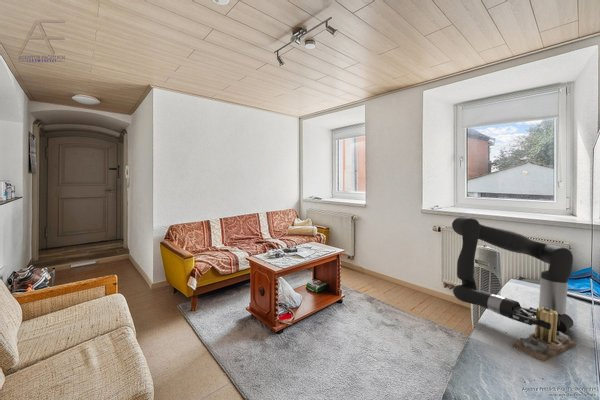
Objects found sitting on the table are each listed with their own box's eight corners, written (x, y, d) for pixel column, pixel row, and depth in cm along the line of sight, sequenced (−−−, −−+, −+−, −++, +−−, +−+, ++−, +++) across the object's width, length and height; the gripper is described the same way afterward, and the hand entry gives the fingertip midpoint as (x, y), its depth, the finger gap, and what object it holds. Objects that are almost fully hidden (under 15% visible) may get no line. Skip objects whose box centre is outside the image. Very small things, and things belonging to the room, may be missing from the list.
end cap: (566, 338, 105) (567, 322, 105) (542, 330, 111) (543, 314, 111) (573, 332, 111) (574, 316, 110) (550, 324, 117) (551, 309, 116)
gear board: (545, 332, 109) (546, 323, 109) (575, 344, 101) (576, 334, 101) (513, 346, 98) (513, 337, 98) (543, 361, 90) (544, 350, 90)
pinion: (539, 333, 104) (541, 303, 103) (558, 341, 99) (561, 310, 98) (531, 336, 101) (533, 306, 101) (551, 344, 96) (553, 313, 95)
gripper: (494, 300, 109) (546, 318, 94) (513, 295, 115) (564, 311, 100) (493, 318, 109) (544, 339, 94) (512, 311, 116) (563, 331, 101)
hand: (554, 325), depth 97 cm, fingers open, 6 cm apart
